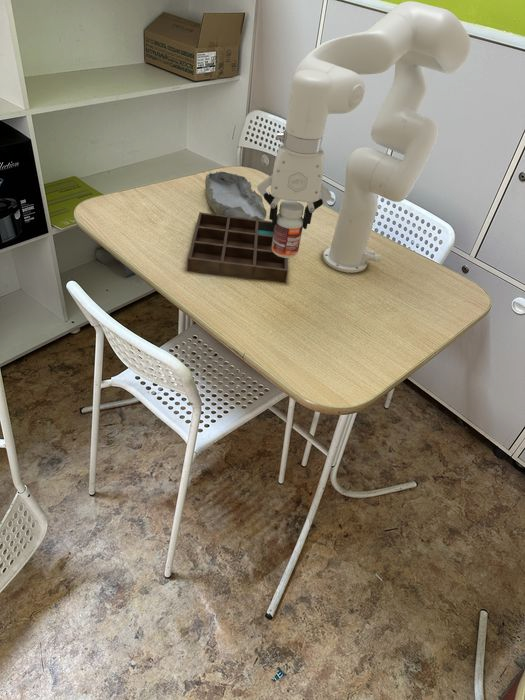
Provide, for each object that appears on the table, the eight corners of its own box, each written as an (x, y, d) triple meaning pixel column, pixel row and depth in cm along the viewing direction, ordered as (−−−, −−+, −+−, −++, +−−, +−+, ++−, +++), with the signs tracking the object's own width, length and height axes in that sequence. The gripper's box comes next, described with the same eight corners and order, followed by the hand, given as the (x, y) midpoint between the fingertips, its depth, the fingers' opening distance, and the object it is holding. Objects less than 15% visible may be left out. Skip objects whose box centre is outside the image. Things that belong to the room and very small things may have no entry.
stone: (267, 232, 159) (227, 184, 176) (274, 207, 153) (232, 160, 171) (226, 235, 152) (188, 185, 170) (232, 209, 147) (192, 160, 164)
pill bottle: (287, 262, 115) (295, 215, 108) (265, 250, 118) (272, 204, 110) (303, 252, 119) (312, 206, 111) (281, 241, 121) (289, 196, 114)
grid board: (284, 234, 155) (286, 223, 153) (285, 283, 136) (287, 270, 133) (198, 223, 154) (199, 212, 151) (187, 271, 134) (187, 258, 132)
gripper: (258, 143, 98) (249, 228, 110) (348, 154, 100) (329, 237, 112) (259, 129, 104) (250, 211, 116) (344, 140, 105) (326, 220, 117)
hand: (289, 223), depth 114 cm, fingers closed on pill bottle, 6 cm apart
